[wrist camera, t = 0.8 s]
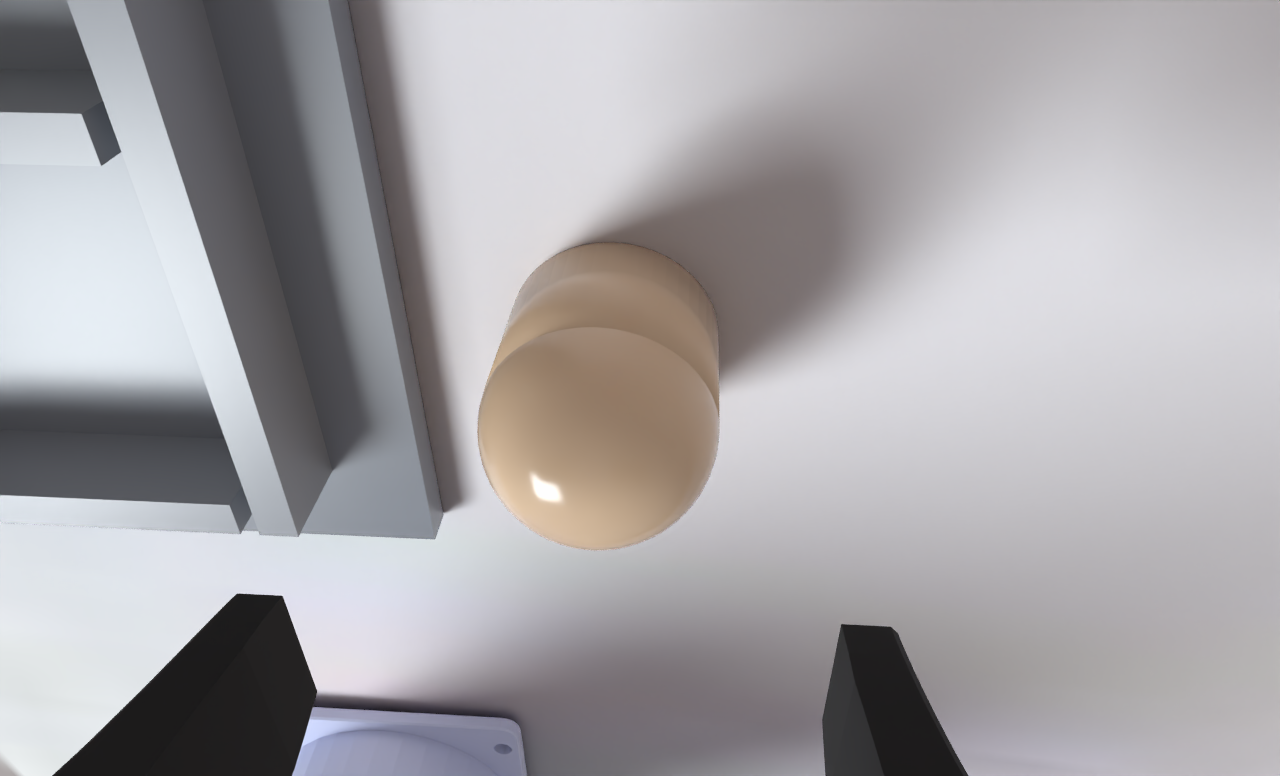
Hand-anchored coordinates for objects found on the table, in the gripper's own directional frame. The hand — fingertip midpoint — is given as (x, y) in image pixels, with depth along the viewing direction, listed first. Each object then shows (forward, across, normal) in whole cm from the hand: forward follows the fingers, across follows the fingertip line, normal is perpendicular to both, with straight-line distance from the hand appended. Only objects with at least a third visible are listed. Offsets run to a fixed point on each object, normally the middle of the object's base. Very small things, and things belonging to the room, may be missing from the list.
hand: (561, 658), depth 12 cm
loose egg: (+8, 0, 0) cm, 8 cm away
